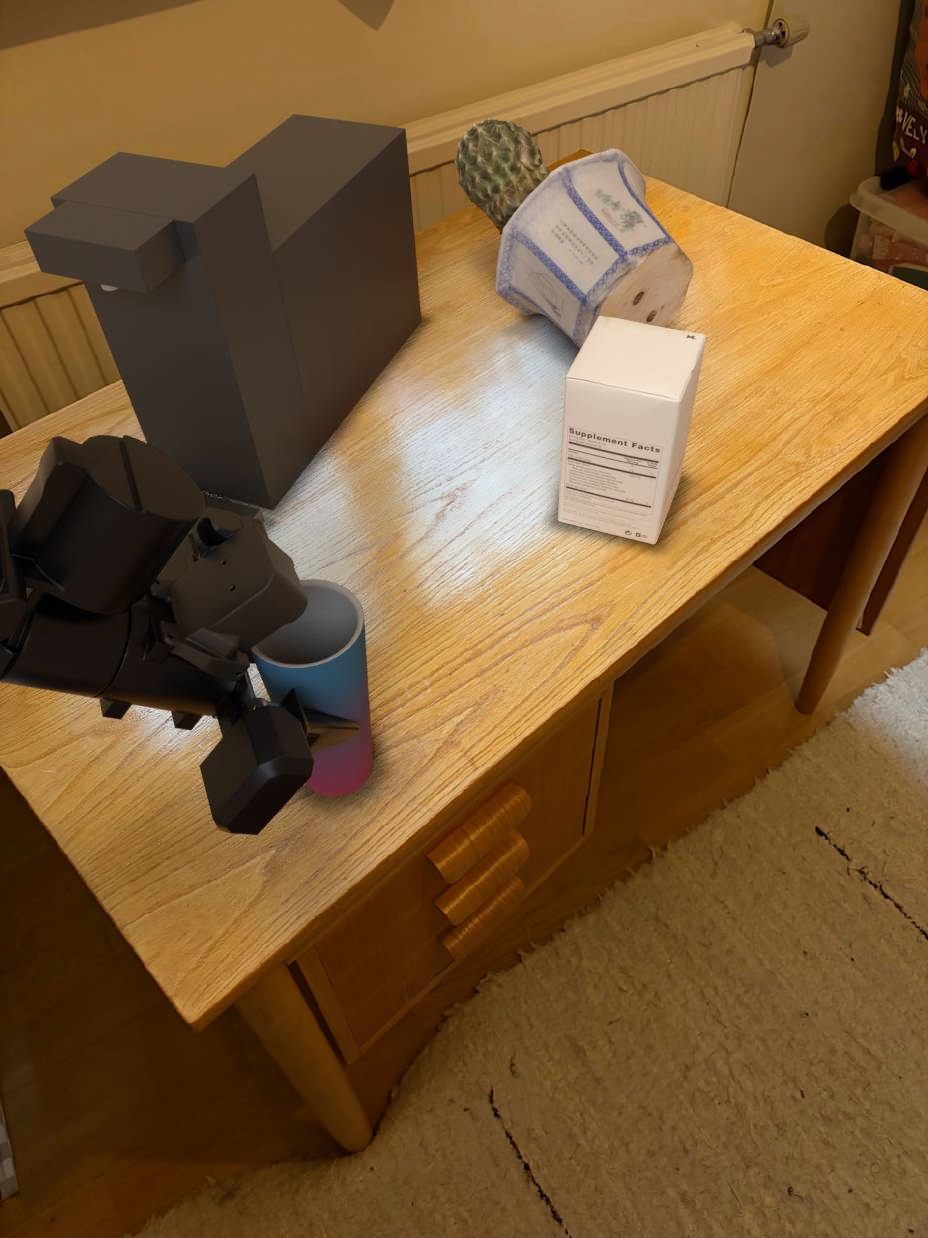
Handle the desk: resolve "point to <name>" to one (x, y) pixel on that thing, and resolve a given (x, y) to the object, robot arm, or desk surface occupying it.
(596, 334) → the white product box
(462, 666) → the desk surface
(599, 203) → the potted plant
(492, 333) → the desk surface
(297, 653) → the cup
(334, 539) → the desk surface
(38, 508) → the robot arm
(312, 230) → the coffee maker
